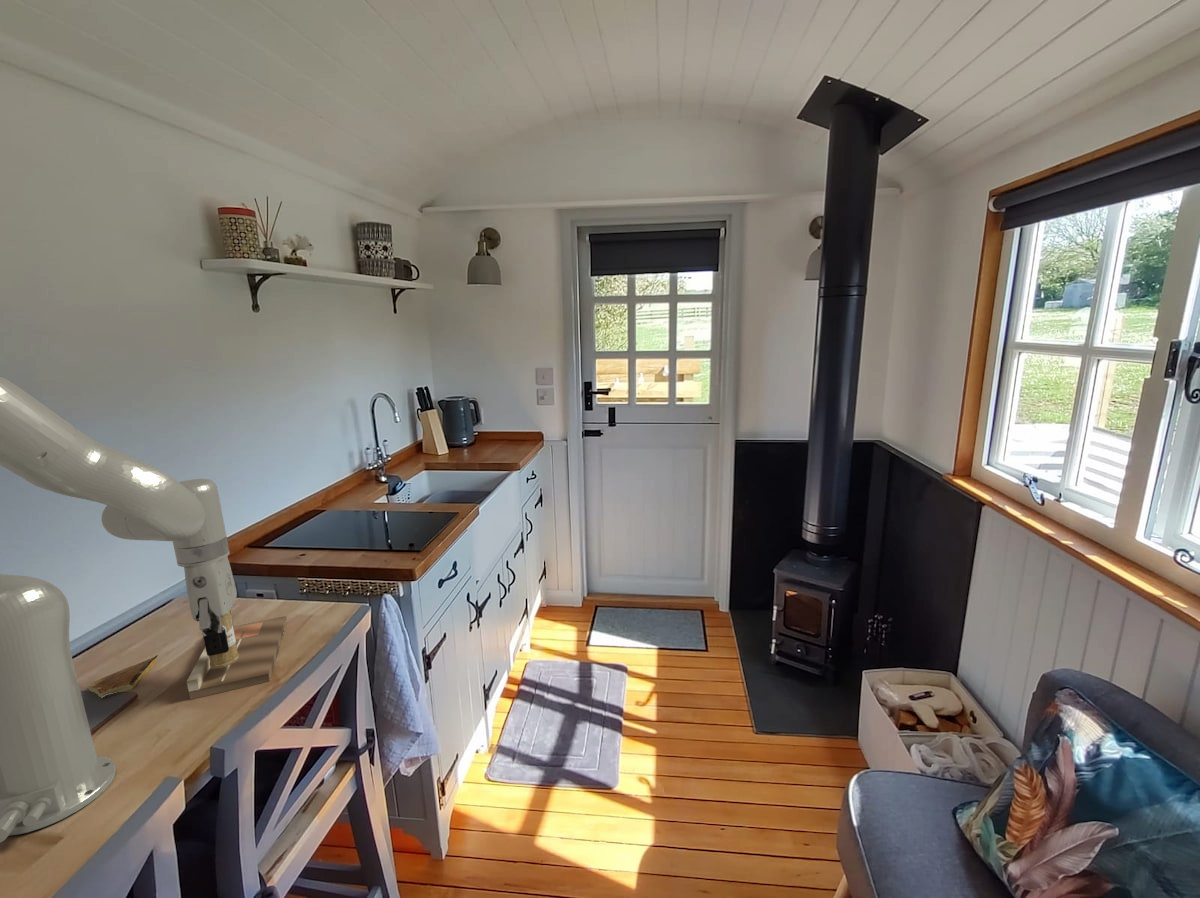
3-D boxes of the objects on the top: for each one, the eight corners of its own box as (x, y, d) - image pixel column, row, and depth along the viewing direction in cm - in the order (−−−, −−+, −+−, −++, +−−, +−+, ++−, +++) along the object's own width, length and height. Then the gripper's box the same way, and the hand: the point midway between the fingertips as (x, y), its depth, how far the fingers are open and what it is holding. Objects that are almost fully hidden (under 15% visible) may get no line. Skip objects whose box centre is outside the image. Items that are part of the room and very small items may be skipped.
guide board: (269, 681, 101) (266, 663, 100) (190, 699, 96) (186, 681, 96) (287, 622, 123) (284, 607, 122) (223, 635, 118) (220, 619, 118)
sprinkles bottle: (216, 672, 98) (201, 601, 96) (205, 664, 101) (191, 595, 98) (244, 659, 102) (231, 591, 99) (233, 652, 104) (220, 585, 102)
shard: (159, 661, 110) (157, 653, 110) (176, 672, 106) (174, 663, 106) (88, 691, 101) (86, 682, 101) (104, 704, 97) (102, 695, 97)
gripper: (216, 563, 91) (236, 665, 94) (237, 532, 106) (254, 620, 110) (160, 572, 88) (182, 677, 92) (190, 539, 103) (209, 629, 107)
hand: (221, 645), depth 101 cm, fingers closed on sprinkles bottle, 4 cm apart
